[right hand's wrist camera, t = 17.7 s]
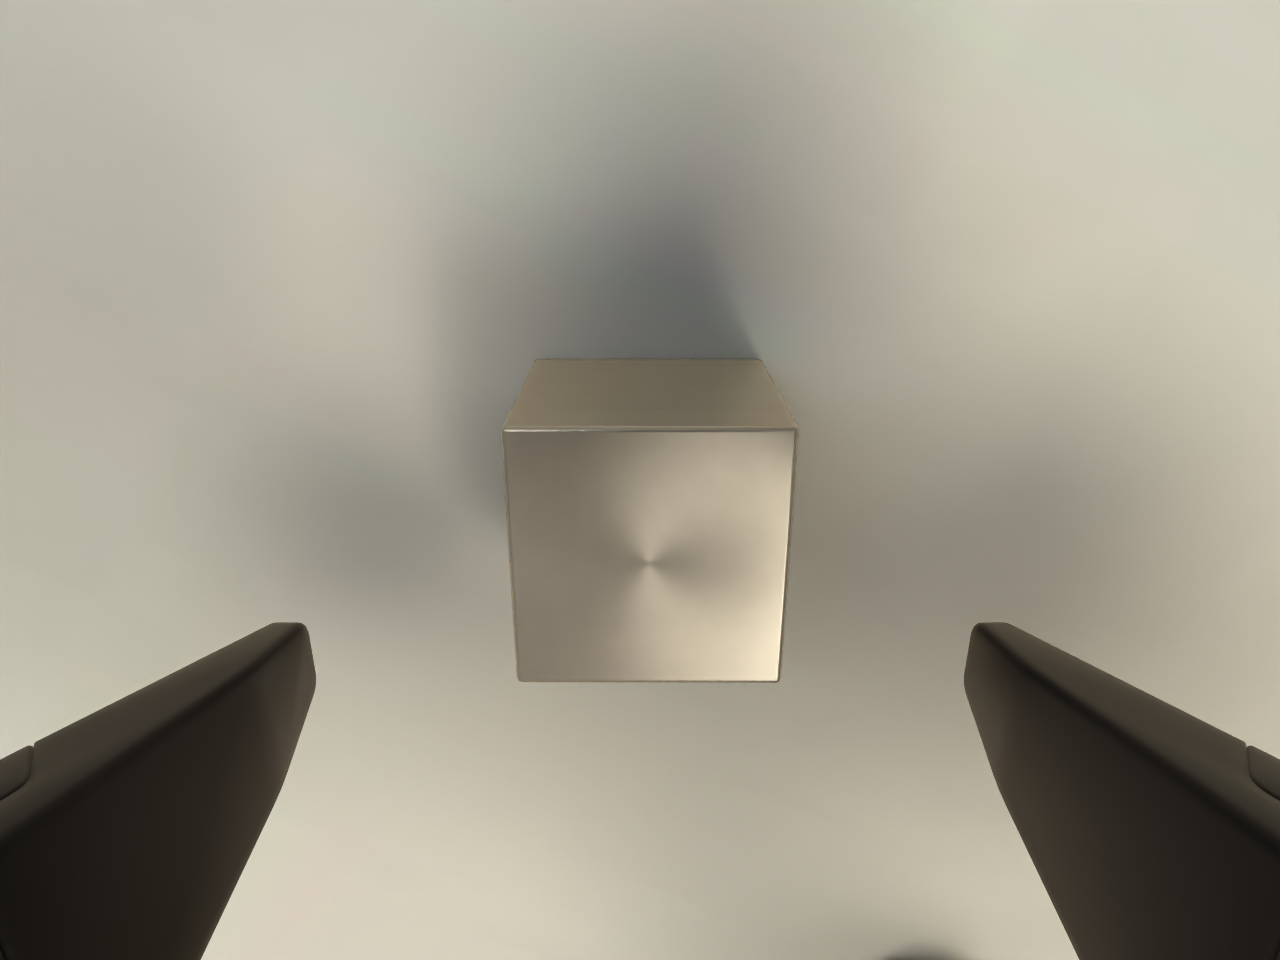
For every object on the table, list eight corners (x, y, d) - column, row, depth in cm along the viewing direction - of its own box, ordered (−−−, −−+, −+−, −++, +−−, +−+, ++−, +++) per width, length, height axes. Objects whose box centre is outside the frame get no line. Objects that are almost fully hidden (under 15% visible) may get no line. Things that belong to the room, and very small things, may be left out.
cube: (750, 565, 19) (781, 685, 15) (543, 565, 19) (516, 683, 15) (762, 358, 17) (800, 427, 13) (534, 357, 17) (500, 427, 13)
